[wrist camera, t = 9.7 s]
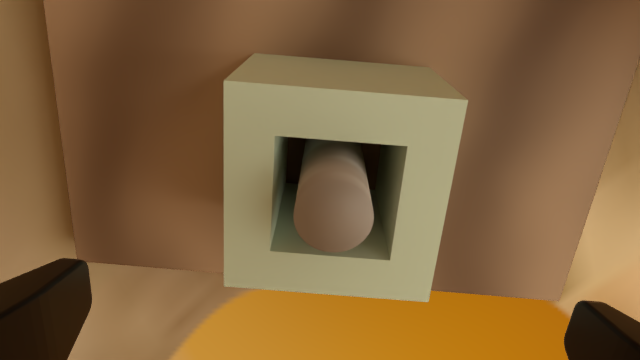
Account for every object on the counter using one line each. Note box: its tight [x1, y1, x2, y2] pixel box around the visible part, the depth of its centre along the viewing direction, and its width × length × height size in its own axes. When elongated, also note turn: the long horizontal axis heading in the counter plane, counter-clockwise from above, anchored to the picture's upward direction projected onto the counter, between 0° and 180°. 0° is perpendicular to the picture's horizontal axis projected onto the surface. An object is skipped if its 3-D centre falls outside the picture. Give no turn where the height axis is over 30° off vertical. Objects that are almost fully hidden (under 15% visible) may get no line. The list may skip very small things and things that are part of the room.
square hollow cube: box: [224, 53, 468, 302], centre depth 15 cm, size 6×6×5 cm
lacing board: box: [43, 0, 640, 301], centre depth 15 cm, size 20×12×8 cm, turn 85°
